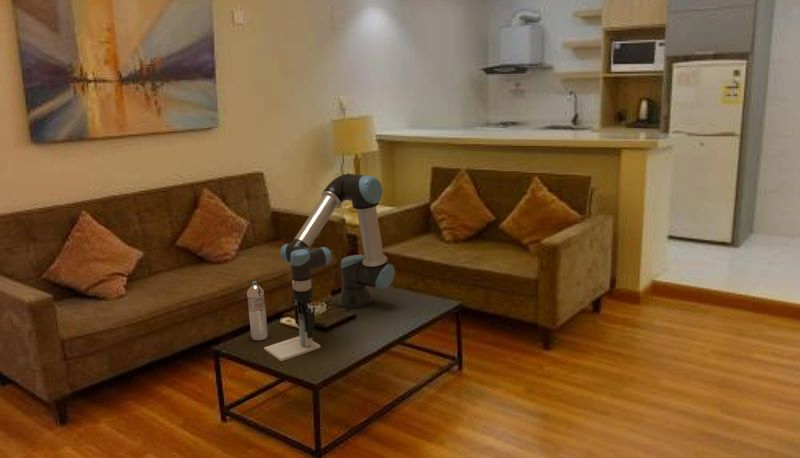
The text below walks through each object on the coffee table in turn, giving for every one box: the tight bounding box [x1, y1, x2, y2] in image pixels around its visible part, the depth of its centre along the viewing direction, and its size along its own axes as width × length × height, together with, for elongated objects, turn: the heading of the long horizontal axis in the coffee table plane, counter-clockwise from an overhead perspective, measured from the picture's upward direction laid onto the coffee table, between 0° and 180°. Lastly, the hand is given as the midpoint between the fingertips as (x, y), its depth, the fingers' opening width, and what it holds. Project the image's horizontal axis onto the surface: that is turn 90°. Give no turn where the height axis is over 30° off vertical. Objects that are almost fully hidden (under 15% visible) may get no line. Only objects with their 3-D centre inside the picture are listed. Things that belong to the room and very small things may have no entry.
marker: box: [298, 311, 311, 347], centre depth 252 cm, size 4×4×14 cm
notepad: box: [263, 335, 321, 362], centre depth 253 cm, size 18×14×1 cm
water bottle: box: [246, 280, 269, 342], centre depth 262 cm, size 7×7×25 cm
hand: (306, 342), depth 254 cm, fingers closed on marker, 4 cm apart
